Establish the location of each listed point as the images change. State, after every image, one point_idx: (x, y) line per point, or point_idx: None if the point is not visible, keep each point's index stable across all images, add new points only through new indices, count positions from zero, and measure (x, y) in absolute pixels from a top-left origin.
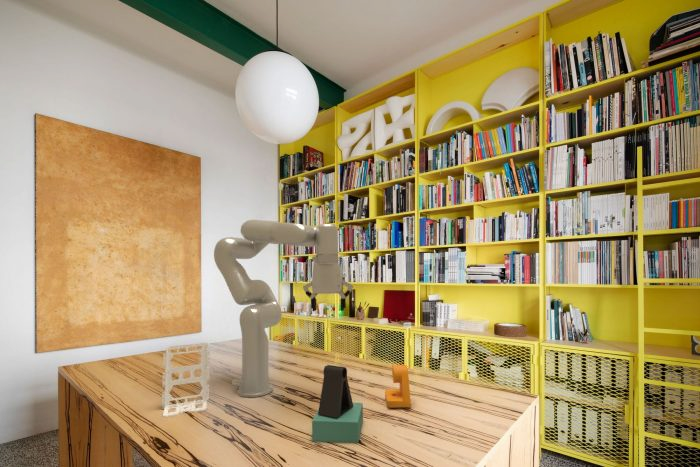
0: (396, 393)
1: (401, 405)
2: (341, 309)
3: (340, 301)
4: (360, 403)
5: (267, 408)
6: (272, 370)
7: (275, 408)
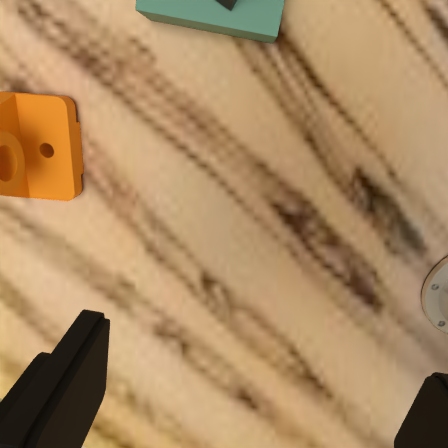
0: (38, 161)
1: (29, 93)
2: (94, 319)
3: (55, 410)
4: (142, 4)
5: (441, 153)
6: None
7: (416, 150)
